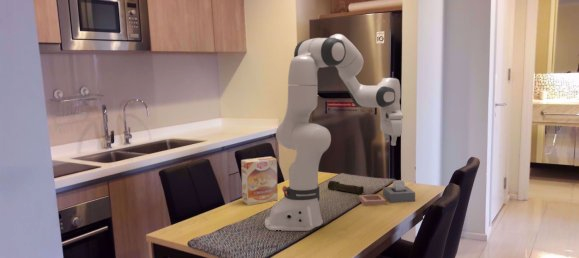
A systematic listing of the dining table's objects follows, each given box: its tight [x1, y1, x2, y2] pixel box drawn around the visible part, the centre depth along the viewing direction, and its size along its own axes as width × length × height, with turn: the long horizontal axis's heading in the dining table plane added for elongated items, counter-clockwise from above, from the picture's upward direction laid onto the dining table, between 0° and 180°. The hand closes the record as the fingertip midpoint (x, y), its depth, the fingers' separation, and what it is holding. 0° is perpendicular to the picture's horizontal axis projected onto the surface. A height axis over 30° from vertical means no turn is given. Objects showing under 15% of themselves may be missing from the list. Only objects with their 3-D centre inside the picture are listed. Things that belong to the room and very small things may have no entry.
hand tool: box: [327, 180, 365, 195], centre depth 212 cm, size 19×4×5 cm, turn 52°
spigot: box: [392, 179, 406, 192], centre depth 197 cm, size 4×4×8 cm
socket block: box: [382, 185, 416, 204], centre depth 197 cm, size 11×11×4 cm
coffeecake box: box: [240, 155, 279, 206], centre depth 199 cm, size 15×7×20 cm, turn 118°
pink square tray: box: [358, 193, 387, 207], centre depth 193 cm, size 10×10×2 cm
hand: (390, 143), depth 200 cm, fingers open, 8 cm apart
